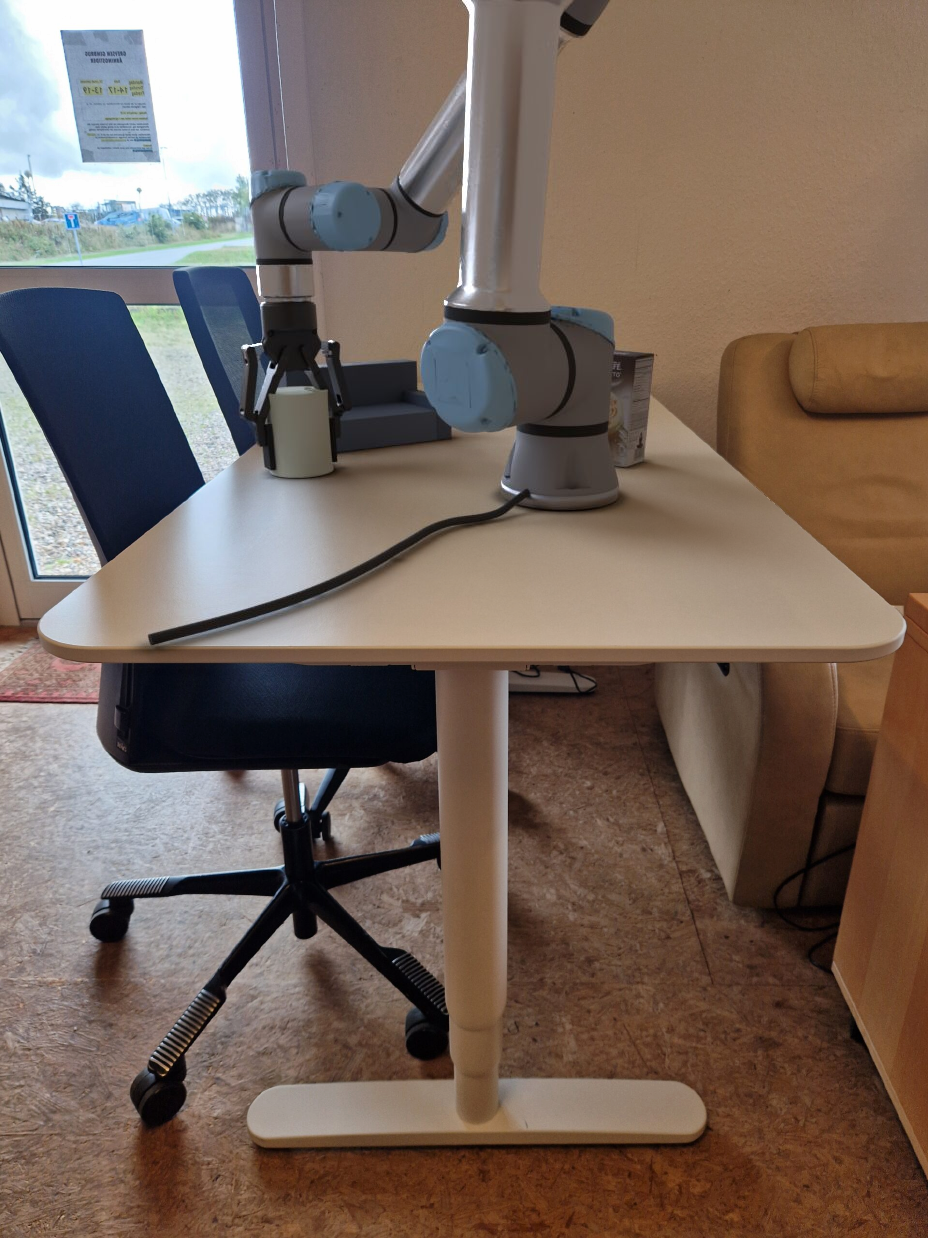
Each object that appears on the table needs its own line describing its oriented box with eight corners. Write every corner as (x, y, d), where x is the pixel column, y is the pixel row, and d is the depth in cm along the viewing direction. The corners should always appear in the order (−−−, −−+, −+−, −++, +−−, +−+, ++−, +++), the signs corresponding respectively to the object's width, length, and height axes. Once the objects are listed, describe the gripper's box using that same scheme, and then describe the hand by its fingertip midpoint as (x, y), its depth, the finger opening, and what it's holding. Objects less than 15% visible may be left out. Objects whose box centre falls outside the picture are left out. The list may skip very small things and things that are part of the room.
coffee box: (573, 459, 127) (579, 351, 121) (595, 452, 132) (601, 348, 125) (626, 468, 122) (635, 355, 115) (646, 460, 126) (656, 352, 120)
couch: (451, 438, 143) (451, 367, 139) (318, 454, 131) (313, 377, 126) (408, 424, 156) (406, 358, 151) (283, 438, 144) (276, 367, 139)
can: (314, 479, 115) (308, 392, 110) (257, 475, 118) (248, 389, 113) (344, 466, 123) (339, 383, 118) (290, 462, 126) (283, 381, 121)
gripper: (348, 297, 119) (357, 451, 128) (200, 301, 109) (221, 468, 118) (371, 298, 114) (378, 460, 122) (216, 302, 103) (237, 478, 112)
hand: (301, 464), depth 120 cm, fingers closed on can, 9 cm apart
